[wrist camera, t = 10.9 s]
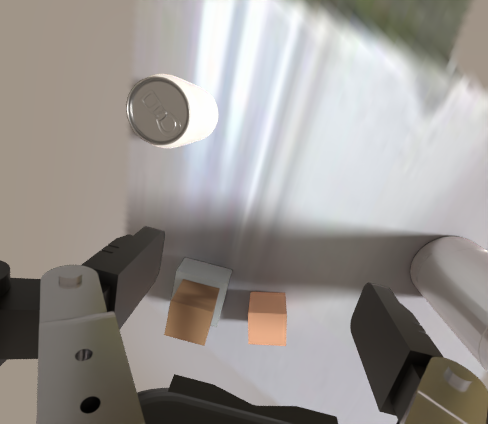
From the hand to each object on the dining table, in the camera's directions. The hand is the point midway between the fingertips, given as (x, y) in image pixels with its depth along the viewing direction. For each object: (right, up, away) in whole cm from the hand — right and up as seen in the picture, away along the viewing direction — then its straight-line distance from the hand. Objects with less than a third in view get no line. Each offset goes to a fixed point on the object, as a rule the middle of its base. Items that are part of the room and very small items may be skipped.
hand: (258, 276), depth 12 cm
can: (-7, +15, +25) cm, 30 cm away
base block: (-6, -8, +32) cm, 34 cm away
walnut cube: (-7, -9, +28) cm, 31 cm away
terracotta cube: (+3, -11, +33) cm, 35 cm away
